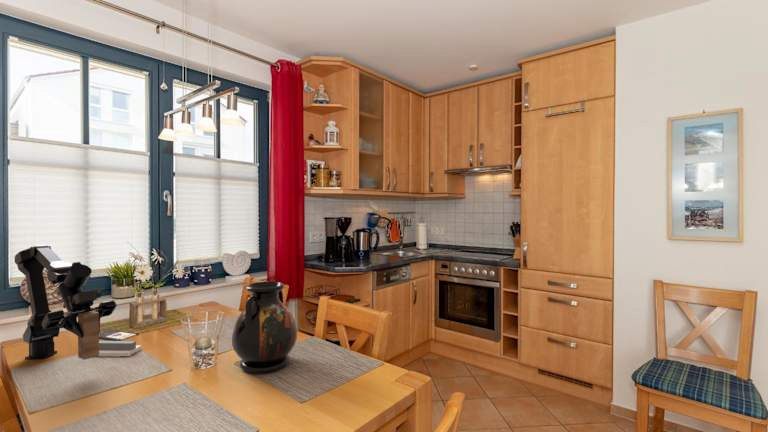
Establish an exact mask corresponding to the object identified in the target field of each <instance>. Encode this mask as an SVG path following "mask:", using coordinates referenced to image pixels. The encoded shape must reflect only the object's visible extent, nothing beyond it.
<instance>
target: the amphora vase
mask: <svg viewBox="0 0 768 432" xmlns="http://www.w3.org/2000/svg"><path fill="white" fill-rule="evenodd" d="M284 288H285V284H284V283H282V282H279V281H258V282H253V283H249V284H247V285H246V286H245V290H246V291H247V292H250V293H251V296H250V297H248V298H247V299H246V302H245V307H244V308H243V309H244V310H243V311H242V312H241V313H240V314H239V315H238V317H237V319H236V321H235V324H234V326H233V329H232V330H233V331H232V336H231V345H232V349H233V351H234V352H235V354H236V355H237V356H238V358H240V359H241V360H240V363H239V367H240V368H241V369H242V371H244V372H245V373H249V374H256V375H257V374H260V375H261V374H268V373H269V374H270V373H274V372H276V371H279V370H282V369H283V368H285V367H286V366H287V365H288V364H289V363H290V360H291V358H290V355H289V354H290V353H291V352H292V350H293V348H294V347H295V345H296V343H297V339H298V329H297V323H296V321H295V317H294V316H293V314H292V312H291V310H290V309H289V308H288V307H287V306H286V305H285V304H284V294H283V289H284Z"/></svg>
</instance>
